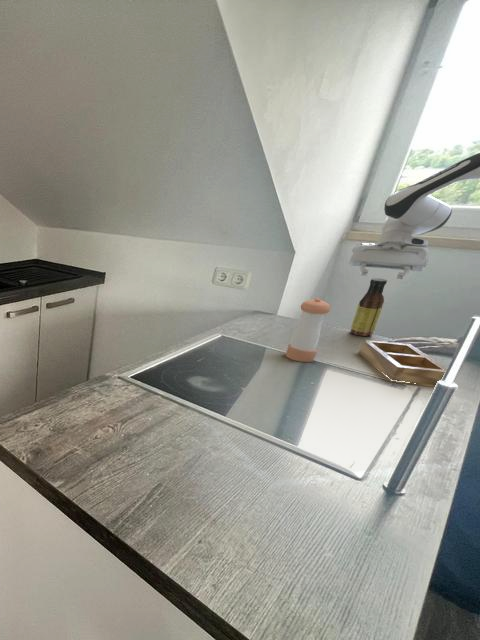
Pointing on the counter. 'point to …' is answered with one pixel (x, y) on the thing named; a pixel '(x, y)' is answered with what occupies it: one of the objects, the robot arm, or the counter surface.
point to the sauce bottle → (369, 309)
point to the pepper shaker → (308, 331)
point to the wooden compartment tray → (402, 362)
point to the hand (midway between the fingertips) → (381, 276)
